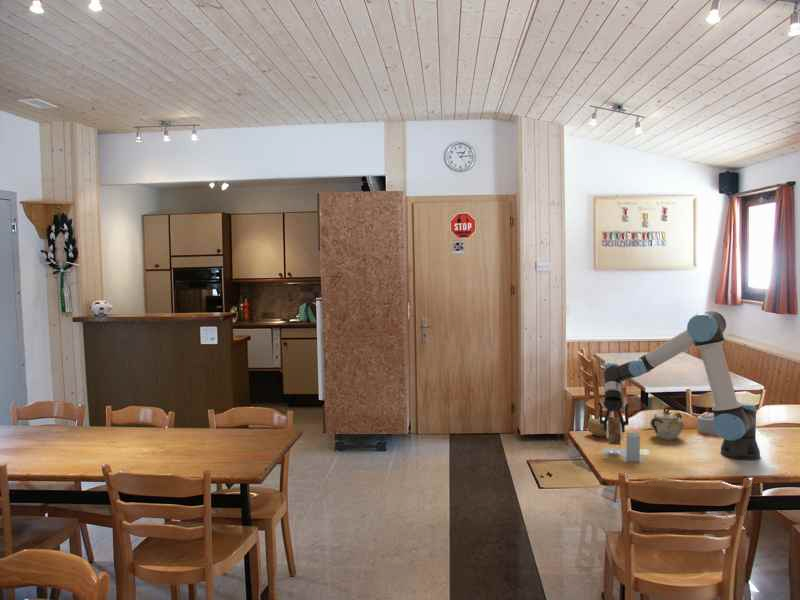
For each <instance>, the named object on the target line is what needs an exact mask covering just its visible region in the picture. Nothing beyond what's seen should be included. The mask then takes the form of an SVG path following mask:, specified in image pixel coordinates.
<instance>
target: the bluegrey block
mask: <svg viewBox="0 0 800 600" xmlns="http://www.w3.org/2000/svg"><path fill="white" fill-rule="evenodd" d="M640 437H641V436H640V433H639V432H637V433H636V432H626V454H627V461H636V462H640V457H641V456H640V455H641V454H640V449H641V448H640V446H641V444H640V443H641V438H640Z"/></svg>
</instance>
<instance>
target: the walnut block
mask: <svg viewBox="0 0 800 600" xmlns="http://www.w3.org/2000/svg"><path fill="white" fill-rule="evenodd" d="M607 423H608V431H609V439H607V441H608V445H614V446H615V445H616V446H617V445H618V446H621V440H620V424H621V423H620V418H619V417H610V416H609V417H608V422H607Z"/></svg>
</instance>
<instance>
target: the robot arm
mask: <svg viewBox="0 0 800 600" xmlns="http://www.w3.org/2000/svg"><path fill="white" fill-rule="evenodd" d="M726 329H727V322H726V318H725V317H724V316H723V315H722V314H721V313H719V312H717V311H713V310H710V311H705V312H700V313H696V314H694V315H693V316H692V317H691V318H690V319H689V320H688V322H687V325H686V329H685V330H684V331H683V332H680V333H679V334H677V335H676V336H674V337H672V338H671V339H669V340H667V341H666V342H664V343H661V344H660V345H659V346H657V347H655V348H654V349H651V351H649V352H648V353H646V354H644V355H641V356H640V357H638V358H636V359H633V360H630V361H627V362H625V363H622V364H618V363H615V362H612V363H611V362H608V363H607V364H605V365H604V367H603V381H604V383H603V384H604V385H603V389H604V390H603V391H604V395H603V396H604V400H603V402H602V403H600V402H599V403H597V404H598V405H597V407H598V409H599V420H600V424H603V425H604V431H607V436H606V439H607V440H608V439H609V431H608V417H610V415H611V412H616V414H617V416H618V417H617V418H620V441H623V433H625V431H626V430H625V429H626V427H625V426H629V424H630V422H629V407H630V405H629V404H628V403H626V404H625V403H624V402H623V401H622V400H623V399H622V382H624V381H627V380H631V379H634V378H637V377H641V376H642V375H645V374H648V373H650V372H651V371H652V370H654V369H655V368H656V367H658V366H660V365H662V364H664V363H666V362H667V361H669V360H671V359H672V358H674V357H676V356H678V355H680V354H681V353H683V352H685V351H686V350H688V349H690V348H692V347H693V346H695V348H697V349H699V351H700V355H701V357H702V362H703V365H704V369H705V373H706V377H707V381H708V385H709V389H710V392H711V395H712V399H713V402H714V405H713V406H712V409H711V410H712V414H713V415H714V418H715V419H714V421H713V428H714V431H715V432H716V434H715V435H717V436H718V437H719V438H721V439H723V441H722V443H721V446H720V453H721V455H723V456H724V457H727V458H731V459H734V460H740V461H741V460H742V461H743V460H744V461H754V460H759V459H760V458H761V450H760V448H759V445H758V442H757V439H756V434H757V433H756V431H757V406H755V405H754V404H751V403H747V402H739V401H738V399H737V396H736V393H735V389H734V385H733V381H732V379H731V373H730V371H729V367H728V363H727V359H726V356H725V355H726V354H725V353H724V349H723V345H724V344H725V342H726V341H725V336H724V332H725V330H726ZM603 408H606V413H605V416H604V420H603ZM622 408H623V410H624V418H625V420H624V418H623V415H622V412H621V409H622Z"/></svg>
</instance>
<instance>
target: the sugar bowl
mask: <svg viewBox="0 0 800 600" xmlns="http://www.w3.org/2000/svg"><path fill="white" fill-rule="evenodd" d="M682 419H683V418H682V414H681V413H680V412H677V413H670V407H668V406H665V407H664V408H663V411H662V412H661V413H657V414H655V415H654V416H653V417H651V419H650V423H649V424H650V427H651V429H652V430H653V432H654V433H655V435H656V436H657V437H658V438H659V437H660V438H659V439H661V438H662V439H661V440H668V441H669V440H670V441H671V440H676V439H677V438H678V437H679V435H680V434H681V433H682V431H683V430H684V427H685V423H684V421H683V420H682Z"/></svg>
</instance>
